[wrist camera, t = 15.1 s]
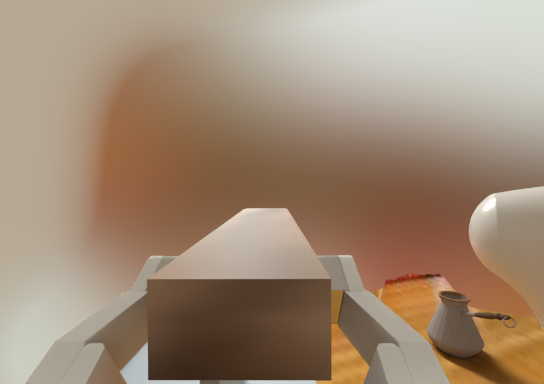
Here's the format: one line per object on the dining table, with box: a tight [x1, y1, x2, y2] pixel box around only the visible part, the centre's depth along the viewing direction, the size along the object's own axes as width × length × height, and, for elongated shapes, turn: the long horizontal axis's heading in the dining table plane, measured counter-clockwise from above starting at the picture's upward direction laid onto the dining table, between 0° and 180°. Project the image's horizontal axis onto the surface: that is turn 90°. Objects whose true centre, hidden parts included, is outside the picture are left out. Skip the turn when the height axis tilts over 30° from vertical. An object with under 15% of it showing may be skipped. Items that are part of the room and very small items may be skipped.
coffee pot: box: [427, 291, 516, 358], centre depth 59 cm, size 21×12×15 cm, turn 0°
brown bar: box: [147, 208, 331, 380], centre depth 17 cm, size 4×22×2 cm, turn 0°
